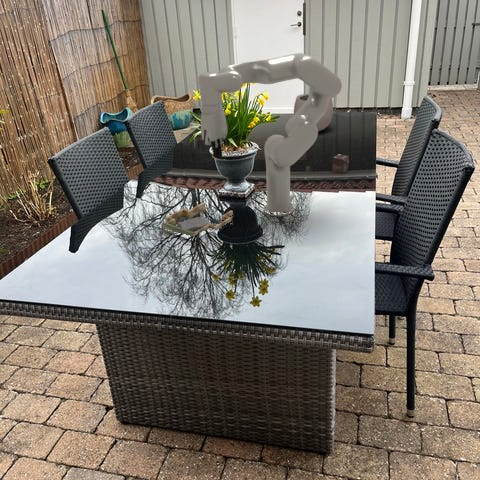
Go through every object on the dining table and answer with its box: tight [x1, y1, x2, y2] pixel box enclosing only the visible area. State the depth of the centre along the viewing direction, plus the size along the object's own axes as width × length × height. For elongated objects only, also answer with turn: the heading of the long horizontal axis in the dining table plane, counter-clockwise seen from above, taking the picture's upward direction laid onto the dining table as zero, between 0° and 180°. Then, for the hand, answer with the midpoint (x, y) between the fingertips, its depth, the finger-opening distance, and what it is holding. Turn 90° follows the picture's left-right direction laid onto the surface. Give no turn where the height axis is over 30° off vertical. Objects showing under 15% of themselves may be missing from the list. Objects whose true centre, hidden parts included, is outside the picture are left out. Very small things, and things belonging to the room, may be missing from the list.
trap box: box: [162, 202, 234, 236], centre depth 190 cm, size 24×23×4 cm
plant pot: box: [293, 92, 334, 132], centre depth 291 cm, size 24×24×30 cm
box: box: [331, 153, 350, 174], centre depth 234 cm, size 6×6×7 cm
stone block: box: [176, 216, 211, 231], centre depth 187 cm, size 12×5×10 cm
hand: (217, 156), depth 182 cm, fingers closed
